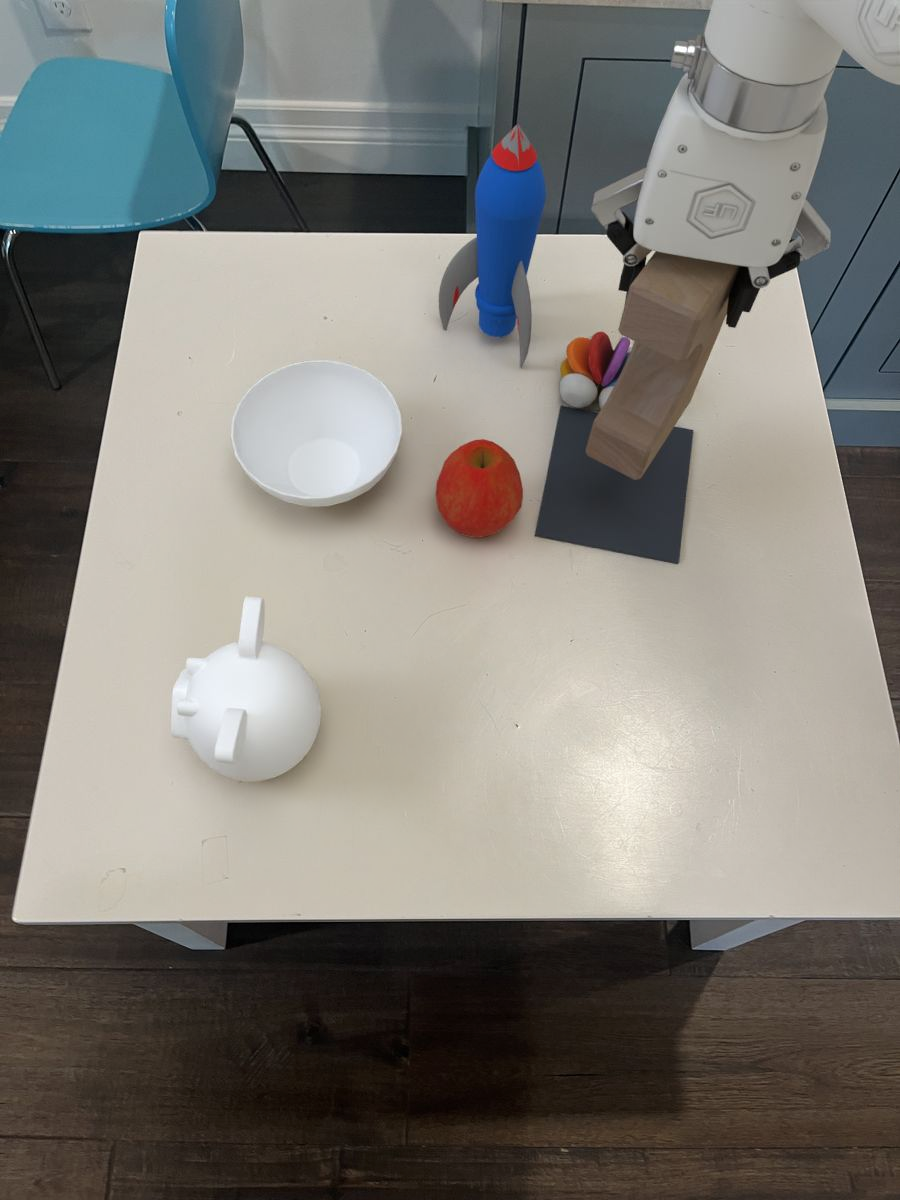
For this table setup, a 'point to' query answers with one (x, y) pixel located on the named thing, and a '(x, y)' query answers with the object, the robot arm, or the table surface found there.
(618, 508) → the mat
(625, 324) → the decorative block
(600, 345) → the rainbow petal flower
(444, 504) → the apple
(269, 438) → the bowl
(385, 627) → the table surface
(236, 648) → the piggy bank
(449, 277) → the toy rocket
